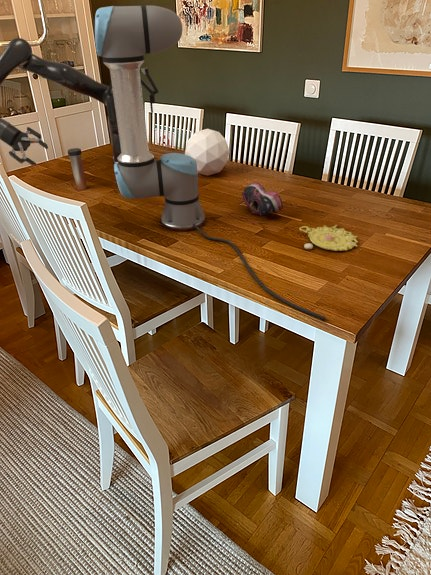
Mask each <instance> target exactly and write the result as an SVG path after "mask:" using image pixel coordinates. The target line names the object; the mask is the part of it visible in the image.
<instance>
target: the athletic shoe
mask: <svg viewBox="0 0 431 575" xmlns="http://www.w3.org/2000/svg"><path fill="white" fill-rule="evenodd" d="M241 197H242V199H243V201H238V203H239V204H241V205H245V206H246V207H247V208H248V210H249V211H250V210H251V213H252V214H255V215H260V217H266V216H267V215H270V214H274V213H275V212H279V211H282V210H283V209H284V205H283V201H282V198H281V196H280V195H279V194H278V192H277V191H274V190H269V191H267V190H266V189H265V187H264V186H263V185H262V184H261V183H258V182H251V183H249V184H247V186H246V187H245V188H244V190H243V191H242V192H241Z"/></svg>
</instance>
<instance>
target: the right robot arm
mask: <svg viewBox="0 0 431 575" xmlns="http://www.w3.org/2000/svg"><path fill="white" fill-rule="evenodd" d="M182 35H183V23H182V20H181V18H180V16H179V15H178V14H177V13H176V12H174V11H173V10H172V9H170V8H166V7H163V6H158V5H148V4H147V5H127V6H126V5H119V6H117V5H111V6H103V7H99V8H98V9H97V10H96V12H95V15H94V40H95V41H94V42H95V53H96V55H97V57H98V56H99V57H102V62H103V65H105V66H106V68H108V70H109V74H110V83H109V85H108V86H109V89H108V92H107V95H108V96H111V97H112V100H113V105H114V106H115V110H116V117H117V124H118V132H119V139H120V146H121V154H120V155H119V156H118V158H117V159H118V163H114V164H113V170H114V175H115V181H116V183H117V187H118V190H119V192H120V195H121V196H122V198H124V199H134V200H135V199H136V200H138V199H146V198H157V197H164V204H163V209H162V213H161V219H160V220H161V225H162V227H163V228H165V229H167V230H170V231H175V232H176V231H177V232H185V231H186V232H187V231H192V230H195V229H196V230H197V231H198V232H199V233H200V234H201V235H202V236H203V237H204V238H207V239H209V240H212V241H218V242H224V243H227V244H229V245H231V246H232V247H233V249H234V250H235V251H236V254H237V255H238V256H239V258H240V259H241V261H242V262H243V264H244V266H245V267H246V269H247V271H248V272H249V273H250V275H251V276H252V279H254V280H255V281H256V282H257V284H258V285H259V286H260V287H261V288H262V289H264V291H265V292H267V293H269V294H270V295H272V296H273V297H274V298H276V299H277V300H279V301H281V302H283V303H285V304H287V305H289V306H291V307H293V308H294V309H297V310H299V311H300V312H303V313H306V314H308V315H311V316H314V317H316V318H319V319H322V320H323V321H324V320H326V316H324V315H321V314H319V313H317V312H314V311H311V310H309V309H306V308H304V307H301V306H300V305H297V304H296V303H292V302H291V301H288V300H287V299H285V298H283V297H281V296H280V295H278V294H276V293H275V292H273V290H271V289H270V288H268V287H267V286H266V285H265V284H264V283H263V282H262V281H261V280H260V279H259V278H258V277H257V276H256V274H255V273H254V271H253V270H252V269H251V267H250V266H249V264H248V262H247V261H246V259H245V258H244V256H243V254H242V253H241V252H240V251H239V250H240V249H239V248H238V247H237V246H236V244H235V243H233V242H232V241H230V240H228V239H224V238H218V237H212V236H209V235H208V234H206V233H205V232H204V231H203V230H202V229H201V227H202V226H203V225H204V224H205V223H206V215H205V212H204V210H203V208H202V204H201V202H200V196H199V179H198V177H199V176H198V174H199V173H198V171H197V163H196V161H195V159H194V158H192V157H191V156H188V155H185V153H178V152H170V153H169V152H168V153H163V154H162V155H161V156H160V159H157V160H156V159H155V154H153V153H152V152H151V151H150V149H149V143H148V142H149V141H148V134H147V132H148V131H147V125H146V124H147V123H146V113H145V106H144V97H143V96H144V95H143V87H144V88H145V89H146V90H147V91H148V93H149V94H148V96H149V105H150V114H153V113H154V107H153V104H155V103H156V100H155V95H157V94H158V93H159V89H158V87H157V85H156V84H155V82H154V80H153V78H152V76H151V75H150V73H149V69H148V67H143V68H141V66H142V65H143V64H144V63H145V55H146V54H147V55H148V54H149V55H150V54H157V53H161V52H164V51H168V50H169V49H171V48H173V47H174V46H176V45H177V44H178V43H179V42H180V40H181V39H182ZM142 73H143V75H145V76H146V78H147V80H148V82H149V83H150V85H151V87H152V88H151V87H150V86H149V85H148V84H147V82H145V81H144V79H142V77H141V76H142V75H141V74H142ZM112 89H113V93H111V90H112Z"/></svg>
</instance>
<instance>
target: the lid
mask: <svg viewBox="0 0 431 575" xmlns="http://www.w3.org/2000/svg"><path fill="white" fill-rule="evenodd" d="M77 155H81V156H82V149H81V148H79V147H74V148H69V149H67V156H68V157H70V156H77Z"/></svg>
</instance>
